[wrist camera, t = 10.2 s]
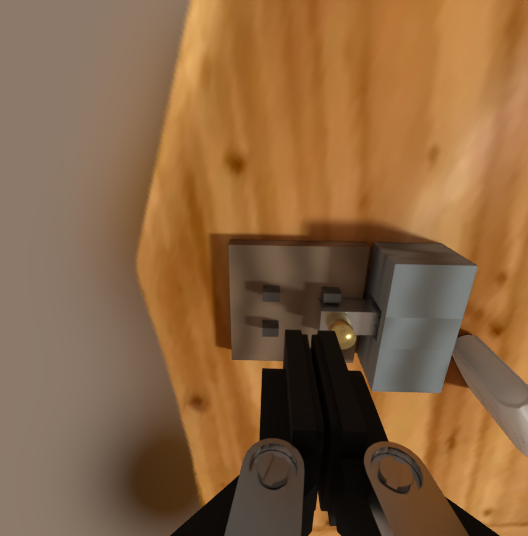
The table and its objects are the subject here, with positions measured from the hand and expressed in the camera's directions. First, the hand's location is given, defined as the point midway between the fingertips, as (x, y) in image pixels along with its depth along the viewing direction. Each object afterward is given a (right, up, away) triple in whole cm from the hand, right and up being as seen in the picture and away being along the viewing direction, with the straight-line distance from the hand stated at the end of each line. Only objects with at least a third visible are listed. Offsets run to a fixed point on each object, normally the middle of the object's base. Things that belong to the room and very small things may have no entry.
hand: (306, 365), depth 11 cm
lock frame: (+7, -1, +30) cm, 30 cm away
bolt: (+11, -2, +27) cm, 30 cm away
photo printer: (+27, -10, +33) cm, 44 cm away
